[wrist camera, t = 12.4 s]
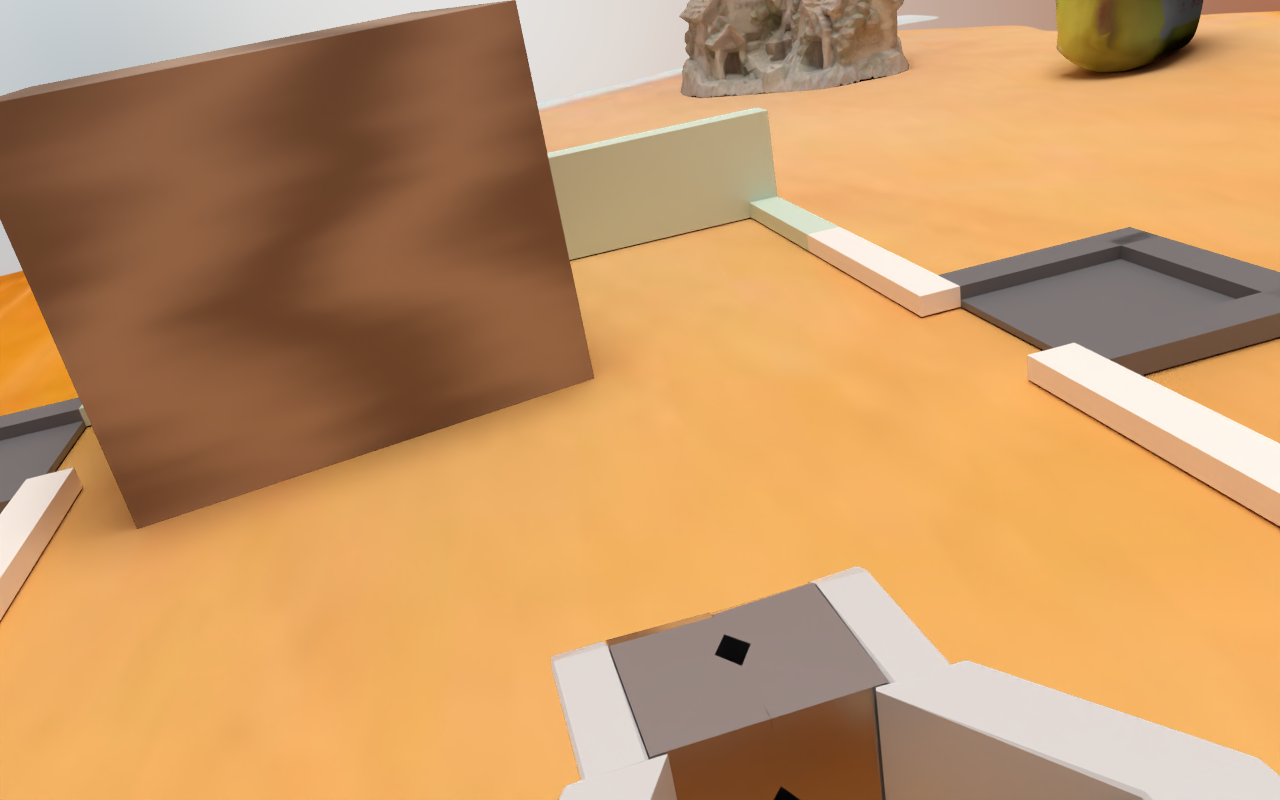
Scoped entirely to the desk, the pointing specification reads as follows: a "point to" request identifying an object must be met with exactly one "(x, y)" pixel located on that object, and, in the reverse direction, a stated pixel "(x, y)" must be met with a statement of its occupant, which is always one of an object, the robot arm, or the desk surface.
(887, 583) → the desk surface
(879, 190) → the desk surface
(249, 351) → the walnut block
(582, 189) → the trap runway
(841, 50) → the ceramic cottage
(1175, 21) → the bottle
